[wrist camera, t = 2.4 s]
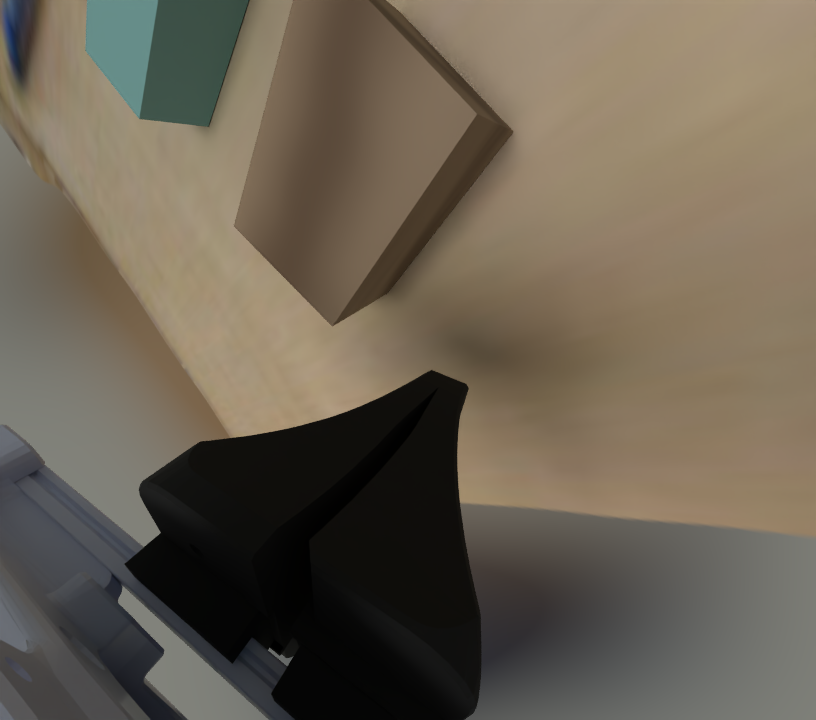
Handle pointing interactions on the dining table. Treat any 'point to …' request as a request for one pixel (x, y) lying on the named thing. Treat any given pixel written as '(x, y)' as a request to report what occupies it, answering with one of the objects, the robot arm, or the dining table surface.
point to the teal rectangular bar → (165, 53)
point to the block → (359, 152)
